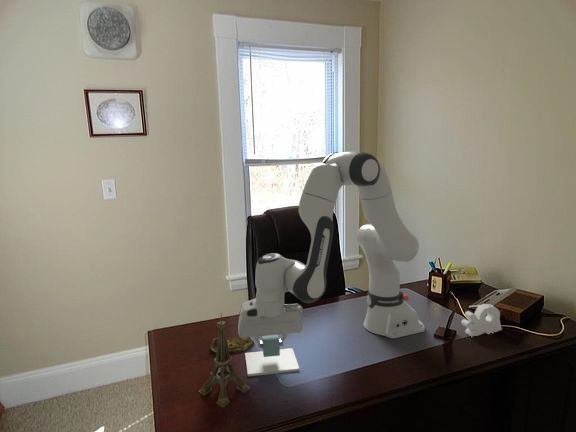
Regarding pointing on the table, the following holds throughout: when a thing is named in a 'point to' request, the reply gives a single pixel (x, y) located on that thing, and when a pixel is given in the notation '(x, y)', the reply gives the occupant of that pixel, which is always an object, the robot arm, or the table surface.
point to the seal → (234, 344)
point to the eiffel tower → (223, 370)
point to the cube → (271, 345)
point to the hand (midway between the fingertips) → (270, 346)
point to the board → (271, 363)
